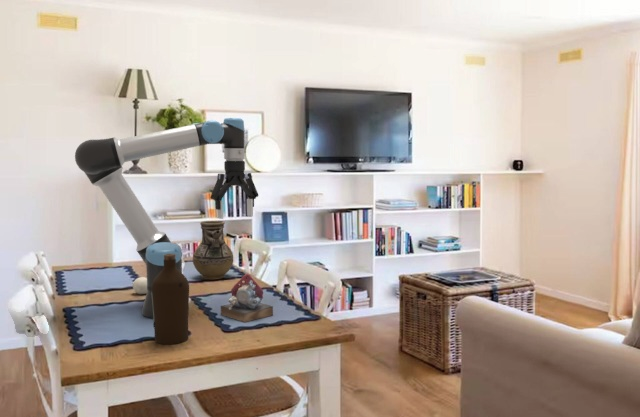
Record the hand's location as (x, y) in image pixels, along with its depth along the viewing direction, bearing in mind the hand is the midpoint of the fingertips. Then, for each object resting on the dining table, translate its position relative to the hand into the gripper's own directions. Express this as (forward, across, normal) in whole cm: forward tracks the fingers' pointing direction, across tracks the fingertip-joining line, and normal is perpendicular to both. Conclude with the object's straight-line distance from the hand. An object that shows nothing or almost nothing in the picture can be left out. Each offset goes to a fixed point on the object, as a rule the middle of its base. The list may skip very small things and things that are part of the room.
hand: (235, 217), depth 217 cm
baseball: (+31, -22, +32) cm, 50 cm away
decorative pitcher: (+31, +16, +38) cm, 52 cm away
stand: (+31, -12, -22) cm, 40 cm away
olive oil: (+31, -44, -28) cm, 61 cm away
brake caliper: (+28, -12, -23) cm, 38 cm away
